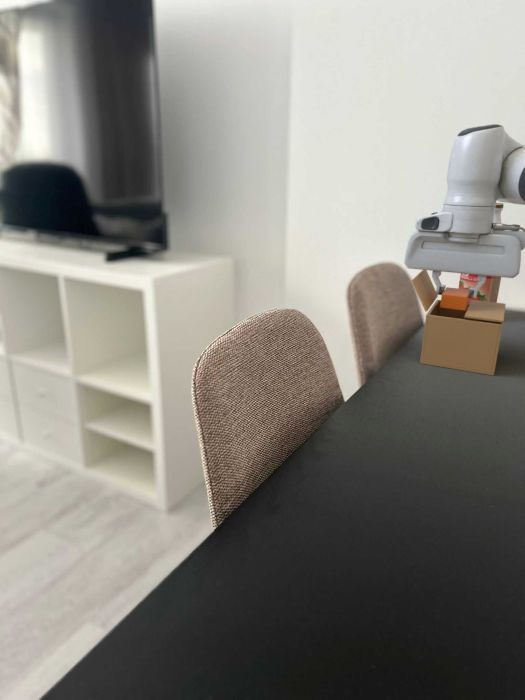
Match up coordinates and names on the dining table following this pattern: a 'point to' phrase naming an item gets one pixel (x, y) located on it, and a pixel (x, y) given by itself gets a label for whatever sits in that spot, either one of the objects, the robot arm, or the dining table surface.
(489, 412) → the dining table surface
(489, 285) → the fruit juice
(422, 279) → the cardboard box flap
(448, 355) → the brown open box
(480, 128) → the robot arm
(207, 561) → the dining table surface
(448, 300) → the block
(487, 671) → the dining table surface
